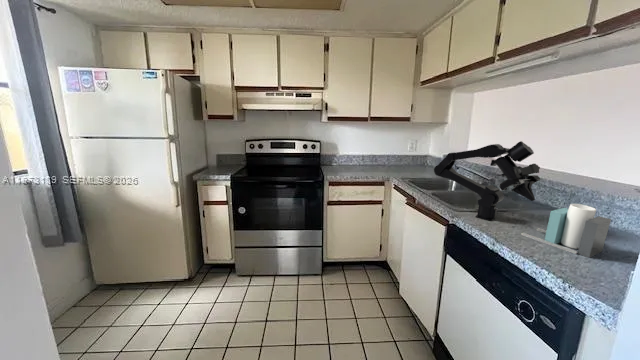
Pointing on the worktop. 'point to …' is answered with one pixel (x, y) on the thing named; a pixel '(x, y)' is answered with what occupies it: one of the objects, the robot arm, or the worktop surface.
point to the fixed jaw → (585, 237)
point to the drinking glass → (576, 224)
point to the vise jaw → (556, 225)
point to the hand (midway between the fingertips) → (533, 200)
